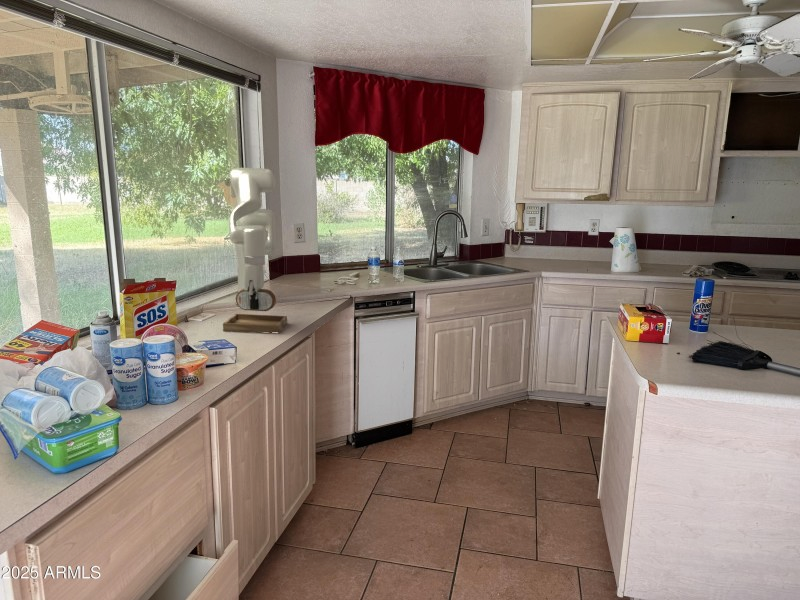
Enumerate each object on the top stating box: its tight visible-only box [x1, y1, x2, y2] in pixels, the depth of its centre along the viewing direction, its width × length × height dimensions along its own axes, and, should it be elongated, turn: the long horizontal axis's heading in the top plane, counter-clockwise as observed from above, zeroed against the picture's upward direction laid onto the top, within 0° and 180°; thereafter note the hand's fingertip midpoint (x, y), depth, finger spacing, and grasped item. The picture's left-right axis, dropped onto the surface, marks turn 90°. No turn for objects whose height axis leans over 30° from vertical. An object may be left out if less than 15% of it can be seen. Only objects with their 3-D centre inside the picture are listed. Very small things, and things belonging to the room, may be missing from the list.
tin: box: [235, 288, 277, 312], centre depth 206 cm, size 15×3×8 cm, turn 88°
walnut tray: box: [222, 313, 288, 334], centre depth 208 cm, size 15×21×3 cm
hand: (255, 307), depth 207 cm, fingers closed on tin, 2 cm apart
